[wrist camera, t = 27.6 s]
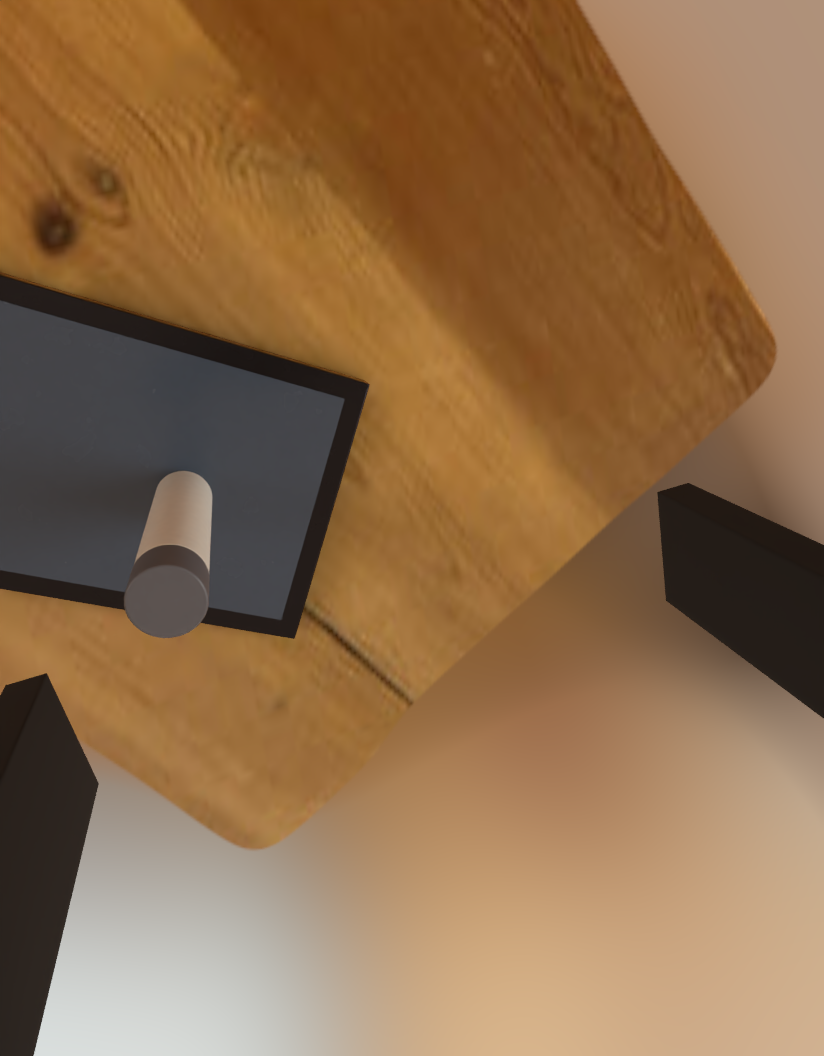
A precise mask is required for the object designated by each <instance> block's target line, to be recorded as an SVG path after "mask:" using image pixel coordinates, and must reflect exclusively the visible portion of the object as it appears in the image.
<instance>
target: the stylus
mask: <svg viewBox="0 0 824 1056" xmlns="http://www.w3.org/2000/svg"><path fill="white" fill-rule="evenodd" d="M211 519H212V491H211V489H210V486H209V485H208V483H207V482H206V481H205V480H204V479H203V478H202V477H201V476H199V475H198V474H195V473H193V472H189V471H177V472H173V473H171V474H169V475H167V476H166V477H164V478H163V479H162V480H161V481H160V483H159V484H158V486H157V489H156V492H155V495H154V499H153V502H152V506H151V509H150V512H149V516H148V519H147V522H146V526H145V529H144V533H143V536H142V539H141V543H140V546H139V549H138V553H137V556H136V560H135V563H134V566H133V568H132V571H131V574H130V578H129V581H128V584H127V588H126V591H125V595H124V607H125V611H126V614H127V616H128V618H129V619H130V621H131V622H132V623H133V624H134V625H135V626H136V627H137V628H138V629H139V630H141V631H142V632H144V633H146V634H148V635H151V636H155V637H160V638H172V637H177V636H181V635H184V634H186V633H188V632H190V631H191V630H193V629H194V628H195V627H197V626H198V625H199V624H200V623H201V621H202V620H203V618H204V617H205V615H206V612H207V610H208V605H209V581H210V577H209V567H210V543H211Z"/></svg>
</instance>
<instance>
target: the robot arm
mask: <svg viewBox="0 0 824 1056" xmlns="http://www.w3.org/2000/svg"><path fill="white" fill-rule="evenodd" d="M658 505H659V518H660V530H661V543H662V554H663V568H664V579H665V593H666V601H668V602H669V603H670V604H671V605H673V606H674V607H675V608H677V609H678V610H679V611H681V612H682V613H684V614H685V615H686V616H687V617H689V618H690V619H691V620H693V621H694V622H696V623H697V624H698V625H699V626H701V627H702V628H703V629H705V630H706V631H708V632H709V633H710V634H712V635H713V636H714V637H716V638H717V639H718V640H720V641H721V642H722V643H724V644H725V645H726V646H728V647H729V648H730V649H732V650H733V651H734V652H736V653H737V654H738V655H740V656H741V657H742V658H744V659H745V660H746V661H748V662H749V663H751V664H752V665H753V666H754V667H756V668H757V669H758V670H760V671H761V672H762V673H764V674H765V675H767V676H768V677H769V678H770V679H772V680H773V681H774V682H776V683H777V684H778V685H780V686H781V687H782V688H784V689H785V690H787V691H788V692H789V693H790V694H792V695H793V696H795V697H796V698H797V699H798V700H800V701H801V702H802V703H804V704H805V705H807V706H808V707H809V708H811V709H812V710H813V711H814V712H816V713H817V714H818V715H820V716H821V717H823V718H824V545H822V544H820V543H818V542H816V541H814V540H811V539H809V538H807V537H805V536H803V535H801V534H798V533H796V532H794V531H792V530H790V529H787V528H785V527H783V526H781V525H779V524H777V523H774V522H772V521H770V520H768V519H766V518H763V517H761V516H759V515H757V514H755V513H752V512H750V511H748V510H746V509H744V508H742V507H740V506H737V505H735V504H733V503H731V502H729V501H727V500H724V499H722V498H720V497H718V496H716V495H714V494H711V493H709V492H707V491H705V490H703V489H700V488H698V487H696V486H694V485H692V484H689V483H687V484H683V485H680V486H677V487H673V488H670V489H667V490H663V491H660V492H658ZM97 788H98V782H97V779H96V777H95V775H94V773H93V771H92V769H91V766H90V764H89V762H88V760H87V758H86V756H85V754H84V752H83V749H82V747H81V745H80V743H79V741H78V739H77V737H76V735H75V732H74V730H73V728H72V726H71V724H70V722H69V720H68V718H67V716H66V713H65V711H64V709H63V707H62V705H61V703H60V701H59V699H58V696H57V694H56V692H55V690H54V688H53V686H52V684H51V682H50V679H49V677H48V675H47V673H46V674H43V675H39V676H36V677H33V678H29V679H26V680H23V681H19V682H16V683H12V684H9V685H6V686H5V688H4V690H3V692H2V694H1V695H0V1056H33V1055H34V1051H35V1047H36V1043H37V1039H38V1035H39V1030H40V1026H41V1022H42V1018H43V1013H44V1009H45V1005H46V1001H47V997H48V993H49V988H50V984H51V980H52V976H53V972H54V968H55V963H56V959H57V955H58V951H59V947H60V943H61V938H62V934H63V930H64V926H65V922H66V917H67V913H68V909H69V905H70V901H71V897H72V892H73V888H74V884H75V879H76V876H77V872H78V867H79V863H80V859H81V855H82V851H83V846H84V842H85V838H86V834H87V830H88V825H89V821H90V817H91V813H92V809H93V804H94V800H95V796H96V792H97Z"/></svg>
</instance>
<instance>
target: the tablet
mask: <svg viewBox="0 0 824 1056" xmlns="http://www.w3.org/2000/svg"><path fill="white" fill-rule="evenodd" d="M368 388H369V384H368V383H367V382H366V381H365V380H361V379H358V378H355V377H351V376H348V375H345V374H341V373H338V372H334V371H331V370H328V369H324V368H321V367H318V366H314V365H311V364H307V363H304V362H301V361H297V360H294V359H291V358H287V357H284V356H280V355H277V354H274V353H270V352H267V351H264V350H260V349H257V348H253V347H250V346H247V345H243V344H240V343H237V342H233V341H230V340H226V339H223V338H220V337H216V336H213V335H210V334H206V333H203V332H199V331H196V330H193V329H189V328H186V327H183V326H179V325H176V324H172V323H169V322H166V321H162V320H159V319H156V318H152V317H149V316H145V315H142V314H139V313H135V312H132V311H129V310H125V309H122V308H118V307H115V306H112V305H108V304H105V303H102V302H98V301H95V300H91V299H88V298H85V297H81V296H78V295H75V294H71V293H68V292H64V291H61V290H58V289H54V288H51V287H48V286H44V285H41V284H37V283H34V282H31V281H27V280H24V279H21V278H17V277H14V276H11V275H7V274H4V273H0V589H6V590H12V591H17V592H23V593H29V594H35V595H41V596H47V597H53V598H58V599H64V600H70V601H76V602H82V603H88V604H94V605H99V606H105V607H111V608H117V609H123V610H125V607H124V595H125V591H126V588H127V584H128V581H129V578H130V574H131V571H132V568H133V566H134V563H135V560H136V556H137V553H138V549H139V546H140V543H141V539H142V536H143V533H144V529H145V526H146V522H147V519H148V516H149V512H150V509H151V506H152V502H153V499H154V495H155V492H156V489H157V486H158V484H159V483H160V481H161V480H162V479H163V478H164V477H166V476H167V475H169V474H171V473H173V472H177V471H189V472H193V473H195V474H198V475H199V476H201V477H202V478H203V479H204V480H205V481H206V482H207V483H208V485H209V486H210V489H211V491H212V519H211V543H210V567H209V577H210V581H209V605H208V610H207V612H206V615H205V617H204V618H203V620H202V621H201V623H205V624H211V625H217V626H223V627H228V628H234V629H240V630H246V631H252V632H258V633H264V634H270V635H275V636H281V637H287V638H293V639H294V638H295V636H296V632H297V629H298V625H299V622H300V619H301V615H302V612H303V609H304V605H305V602H306V598H307V595H308V592H309V588H310V585H311V581H312V578H313V575H314V571H315V568H316V564H317V561H318V558H319V554H320V551H321V548H322V544H323V541H324V537H325V534H326V531H327V527H328V524H329V520H330V517H331V514H332V510H333V507H334V503H335V500H336V497H337V493H338V490H339V487H340V483H341V480H342V476H343V473H344V470H345V466H346V463H347V459H348V456H349V453H350V449H351V446H352V442H353V439H354V436H355V432H356V429H357V426H358V422H359V419H360V415H361V412H362V409H363V405H364V402H365V398H366V395H367V392H368Z"/></svg>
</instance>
